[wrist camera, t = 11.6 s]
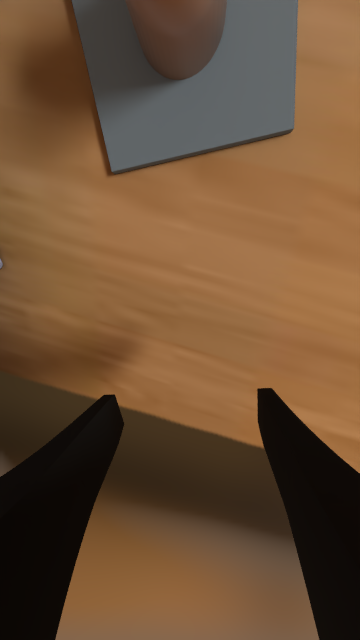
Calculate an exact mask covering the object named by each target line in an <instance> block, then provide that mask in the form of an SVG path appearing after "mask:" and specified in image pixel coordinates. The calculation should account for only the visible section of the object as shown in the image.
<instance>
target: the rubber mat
mask: <svg viewBox="0 0 360 640" xmlns="http://www.w3.org/2000/svg"><path fill="white" fill-rule="evenodd" d="M72 4H73V8H74V13H75V17H76V21H77V25H78V30H79V34H80V38H81V42H82V47H83V51H84V55H85V59H86V64H87V68H88V72H89V76H90V81H91V85H92V89H93V94H94V98H95V102H96V106H97V111H98V115H99V119H100V123H101V128H102V132H103V136H104V140H105V145H106V149H107V153H108V157H109V162H110V166H111V170H112V172H113V173H114V174H118V173H123V172H127V171H131V170H135V169H140V168H144V167H148V166H152V165H156V164H161V163H165V162H169V161H173V160H178V159H182V158H186V157H190V156H195V155H199V154H203V153H207V152H212V151H216V150H220V149H224V148H229V147H233V146H237V145H241V144H246V143H250V142H254V141H258V140H263V139H267V138H271V137H275V136H280V135H284V134H288V133H291V131H292V130H293V129H294V111H295V79H296V46H297V13H298V0H227V8H226V18H225V25H224V30H223V34H222V38H221V40H220V43H219V46H218V48H217V50H216V52H215V54H214V55H213V57H212V59H211V60H210V61H209V63H208V64H207V65H206V66H205V67H204V68H203V69H202V70H201V71H200V72H198V73H197V74H196V75H194V76H192V77H190V78H187V79H182V80H173V79H169V78H166V77H164V76H162V75H160V74H159V73H158V72H157V71H155V70H154V69H153V68H152V66H151V65H150V64H149V62H148V61H147V59H146V58H145V56H144V54H143V51H142V49H141V46H140V43H139V40H138V37H137V34H136V32H135V29H134V26H133V23H132V20H131V17H130V14H129V11H128V8H127V5H126V2H125V0H72Z"/></svg>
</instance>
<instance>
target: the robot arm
mask: <svg viewBox="0 0 360 640" xmlns="http://www.w3.org/2000/svg"><path fill="white" fill-rule="evenodd" d="M2 265H3V264H2V261H1V259H0V269H1V268H2ZM258 424H259V429H260V433H261V437H262V441H263V445H264V448H265V451H266V454H267V456H268V459H269V462H270V465H271V468H272V471H273V474H274V476H275V479H276V482H277V485H278V488H279V491H280V494H281V497H282V499H283V502H284V506H285V509H286V512H287V515H288V519H289V523H290V526H291V530H292V534H293V538H294V541H295V545H296V548H297V553H298V557H299V560H300V564H301V567H302V572H303V576H304V580H305V584H306V587H307V591H308V595H309V600H310V603H311V608H312V611H313V615H314V620H315V624H316V628H317V632H318V636H319V640H360V473H358V472H357V471H356V470H355V469H353V468H352V467H351V466H350V465H349V464H347V463H346V462H345V461H344V460H343V459H342V458H340V457H339V456H338V455H337V454H336V453H335V452H334V451H332V450H331V449H330V448H329V447H328V446H327V445H326V444H325V443H324V442H323V441H322V440H320V439H319V438H318V437H317V436H316V435H315V434H314V433H313V432H312V431H311V430H310V429H309V428H308V427H307V426H306V425H305V424H304V423H303V422H302V421H301V420H300V419H299V418H298V417H297V416H296V415H295V414H294V413H293V412H292V411H291V409H290V408H289V407H288V406H287V405H286V404H285V403H284V402H283V401H282V399H281V398H280V397H279V396H278V395H277V394H276V392H275V391H274V390H273V389H272V388H261V389H258ZM123 426H124V422H123V418H122V415H121V412H120V409H119V406H118V403H117V400H116V397H115V395H103V396H102V397H101V398H100V399H98V400H97V401H96V402H95V403H94V404H93V405H92V406H91V407H89V408H88V409H87V410H86V411H85V412H84V413H83V414H81V415H80V416H79V417H78V418H77V419H76V420H75V421H73V423H71V424H70V425H69V426H68V427H66V428H65V429H64V430H63V431H62V432H60V433H59V434H58V435H57V436H56V437H54V438H53V439H52V440H51V441H49V442H48V443H47V444H46V445H45V446H43V447H42V448H41V449H39V450H38V451H37V452H35V453H34V454H33V455H31V456H30V457H29V458H27V459H26V460H24V461H23V462H22V463H20V464H19V465H17V466H16V467H15V468H13V469H12V470H10V471H9V472H7V473H6V474H4V475H3V476H1V477H0V640H55V638H56V634H57V630H58V626H59V622H60V618H61V614H62V610H63V606H64V603H65V599H66V595H67V592H68V588H69V585H70V581H71V577H72V573H73V570H74V566H75V563H76V560H77V556H78V553H79V549H80V546H81V543H82V540H83V536H84V533H85V530H86V527H87V524H88V521H89V518H90V515H91V512H92V509H93V506H94V503H95V500H96V497H97V495H98V493H99V490H100V488H101V485H102V483H103V481H104V478H105V476H106V473H107V471H108V469H109V466H110V464H111V461H112V459H113V456H114V454H115V451H116V449H117V446H118V444H119V440H120V437H121V433H122V430H123Z"/></svg>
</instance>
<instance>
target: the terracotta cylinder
mask: <svg viewBox="0 0 360 640" xmlns="http://www.w3.org/2000/svg"><path fill="white" fill-rule="evenodd" d="M125 2H126V5H127V8H128V11H129V14H130V17H131V20H132V23H133V26H134V29H135V32H136V34H137V37H138V40H139V43H140V46H141V49H142V51H143V54H144V56H145V58H146V59H147V61H148V62H149V64H150V65H151V66H152V68H153V69H154V70H155V71H157V72H158V73H159V74H160V75H162V76H164V77H166V78H169V79H173V80H182V79H187V78H190V77H192V76H194V75H196V74H197V73H198V72H200V71H201V70H202V69H203V68H204V67H205V66H206V65H207V64H208V63H209V61H210V60H211V59H212V57H213V55H214V54H215V52H216V50H217V48H218V46H219V43H220V40H221V38H222V34H223V30H224V25H225V18H226V8H227V0H125Z"/></svg>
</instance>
